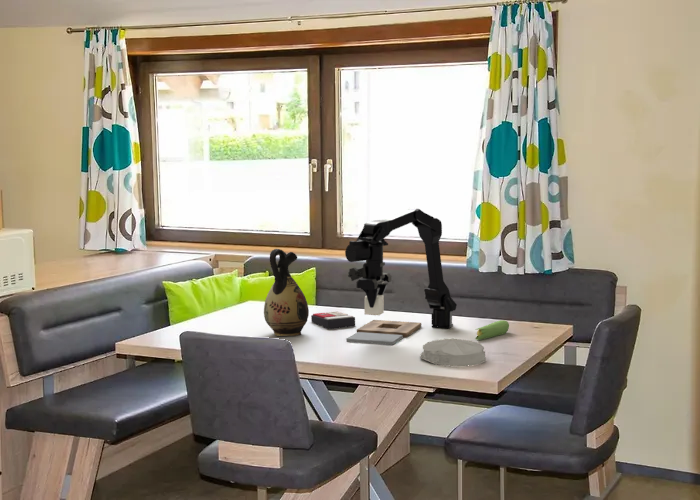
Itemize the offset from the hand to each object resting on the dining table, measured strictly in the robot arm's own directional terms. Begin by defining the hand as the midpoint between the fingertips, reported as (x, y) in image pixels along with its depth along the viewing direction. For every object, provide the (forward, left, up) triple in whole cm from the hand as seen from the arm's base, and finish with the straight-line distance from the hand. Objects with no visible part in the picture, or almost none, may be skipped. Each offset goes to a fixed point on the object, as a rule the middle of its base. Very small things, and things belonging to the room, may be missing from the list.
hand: (374, 306), depth 288 cm
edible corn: (-36, -17, -12) cm, 41 cm away
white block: (0, 0, -3) cm, 3 cm away
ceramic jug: (+32, +2, -12) cm, 34 cm away
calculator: (+23, -20, -12) cm, 33 cm away
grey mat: (0, 0, -11) cm, 11 cm away
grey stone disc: (-31, +17, -12) cm, 38 cm away
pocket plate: (0, -16, -11) cm, 19 cm away
